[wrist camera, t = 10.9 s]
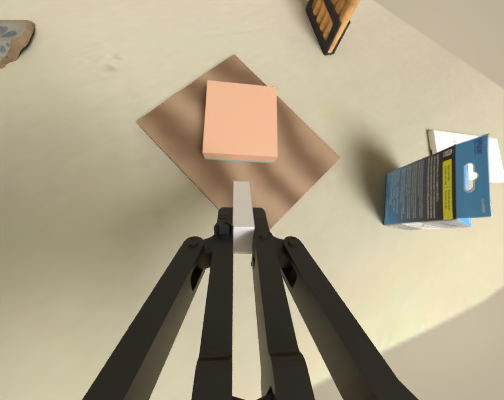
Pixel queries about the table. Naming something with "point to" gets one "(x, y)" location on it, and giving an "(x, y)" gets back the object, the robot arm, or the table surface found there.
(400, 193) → the label tape box
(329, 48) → the ammunition clip
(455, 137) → the external hard drive
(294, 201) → the board
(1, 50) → the ceramic fragment
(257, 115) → the tile
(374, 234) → the table surface
